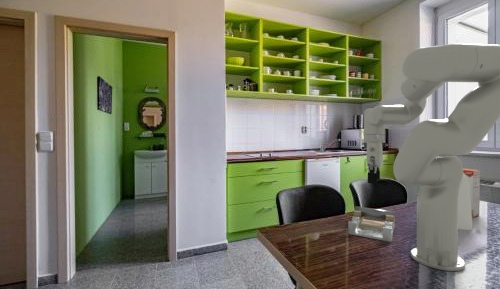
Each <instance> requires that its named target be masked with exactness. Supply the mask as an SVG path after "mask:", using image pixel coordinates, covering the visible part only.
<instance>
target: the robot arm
mask: <svg viewBox="0 0 500 289" xmlns="http://www.w3.org/2000/svg"><path fill="white" fill-rule="evenodd" d="M401 70H402V73H403V75H404V77H405V78H406V79H404V80H403V82H402V83H401V84H400V91H401V94H402V95H403V97H404V98H405V99H406V100H407V101H406V102H405V103H404V104H393V105H392V104H388V105H387V104H385V105H384V104H382V105H376V106H374V107H369V108H368V107H367V108H366V109H365V110H364V112H363V143H364V144H366V167H368V170H367V183H368V184H373V185H375V184H378V181H379V180H380V179H381V170H380V169H381V168H382V167H383V166H384V160H383V159H384V157H383V156H384V155H383V143H386V142H385V141H386V126H405V125H408V124H410V123H412V122H414V120H416V119H417V118H418V117H420V116H421V115H422V113H423V112H424V111H425V108H426V105H427V99H428V98H429V97H431V95H433V93H435V92H436V91H438V90H439V89H440V88H441V87H442V86H444V85H445V84H446V83H447V82H448V83H477V85H476V87H475V88H473V89H472V90H470V91H469V92H467V94H465V95H464V96H463V97H462V98H461V99H460V100H459V101H458V102H457V104H456V106H455V108H454V109H453V110H452V112H451V113H450V115H449V116H447V117H446V118H444V119H434V118H433V119H426V120H423V121H421V122H419V123H417V124H416V125H414V126H413V128H412V129H411V130H410V131H409V133H408V134H407V137H406V138H405V140H404V143H403V144H402V146H401V148H400V150H399V151H398V154H397V155H396V157H395V160H394V162H393V167H392V172H393V175H394V178H395V180H396V181H397V182H398V183H400V184H402V185H405V186H409V187H416V186H417V187H418V186H421V187H420V189H419V191H418V194H417V201H416V202H417V203H416V247H415V248H412V249H411V250H410V256H411V258H412V259H413V260H414V261H416V262H417V263H419V264H422V265H423V266H427V267H429V268H432V269H436V270H441V271H445V272H446V271H447V272H455V271H456V272H459V271H462V270H464V269H465V268H466V262H465V260H464V259H462V257H460V256H459V255H458V253H459V251H458V249H459V248H458V246H459V244H458V243H459V236H458V235H459V233H458V232H459V229H458V199H459V189H460V184H461V181H462V177H463V169H464V166H463V162H462V160H461V159H460V158H459V157H458V156H464V155H469V154H470V153H472V152H474V151H475V150H476V148H478V146H479V145H480V144H481V142H482V141H483V140H484V139H485V137H487V135H488V133H489V132H490V130H491V129H492V128H493V127H494V125H495V124H496V123H497V121H498V120H499V118H500V44H485V43H483V44H482V43H449V44H441V45H434V46H424V47H418V48H416V49H413V51H411V52H410V53H409V54H408V55H407V56H406V57H405V59H404V61H403V63H402V69H401Z"/></svg>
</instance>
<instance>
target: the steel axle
mask: <svg viewBox="0 0 500 289" xmlns="http://www.w3.org/2000/svg"><path fill="white" fill-rule="evenodd" d="M354 210H355V211H361V217H364V219H370V220H371V219H373V220H377V221H384V222H385V221H386V215H392V216H394V210H386V209H380V208H371V207H370V208H369V207H364V206H355V207H354Z"/></svg>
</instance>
